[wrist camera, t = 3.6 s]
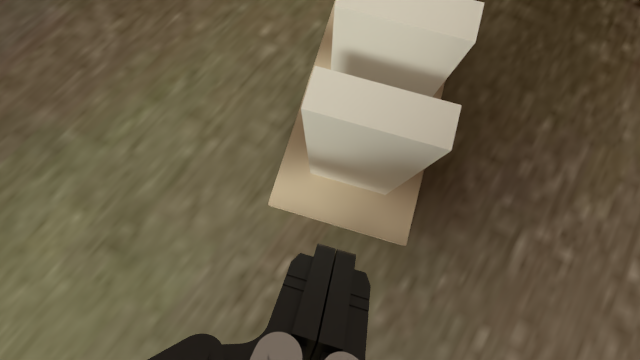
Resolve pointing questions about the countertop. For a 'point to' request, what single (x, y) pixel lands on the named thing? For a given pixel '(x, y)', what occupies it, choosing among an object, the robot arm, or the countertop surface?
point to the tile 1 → (373, 130)
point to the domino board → (341, 184)
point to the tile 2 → (403, 40)
